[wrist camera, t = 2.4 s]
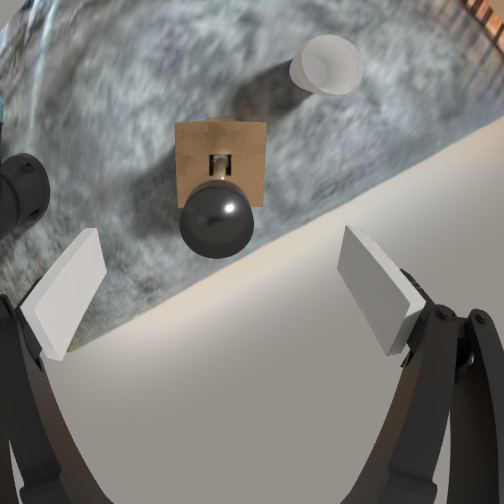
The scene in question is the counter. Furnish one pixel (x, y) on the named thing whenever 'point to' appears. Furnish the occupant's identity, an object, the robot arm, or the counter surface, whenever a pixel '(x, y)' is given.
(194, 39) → the counter surface
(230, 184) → the plunger
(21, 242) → the counter surface
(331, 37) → the cup
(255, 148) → the block
